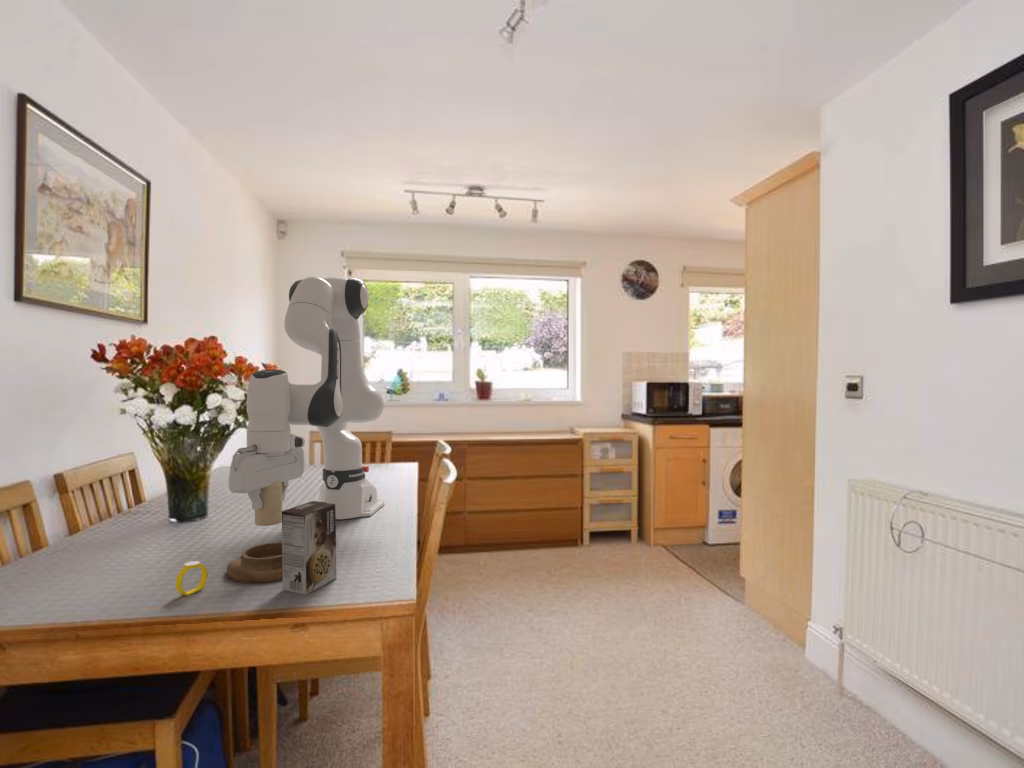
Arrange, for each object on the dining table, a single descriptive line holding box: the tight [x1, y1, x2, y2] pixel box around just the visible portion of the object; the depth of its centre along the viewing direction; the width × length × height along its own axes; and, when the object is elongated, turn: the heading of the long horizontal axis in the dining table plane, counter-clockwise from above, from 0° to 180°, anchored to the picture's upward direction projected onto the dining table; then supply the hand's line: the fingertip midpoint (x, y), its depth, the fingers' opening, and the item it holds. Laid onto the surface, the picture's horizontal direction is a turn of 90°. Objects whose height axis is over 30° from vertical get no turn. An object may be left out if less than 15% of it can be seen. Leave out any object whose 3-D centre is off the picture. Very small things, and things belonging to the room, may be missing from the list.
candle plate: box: [226, 541, 283, 584], centre depth 119 cm, size 17×17×4 cm
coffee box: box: [281, 500, 337, 596], centre depth 110 cm, size 9×6×16 cm
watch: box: [175, 560, 209, 597], centre depth 106 cm, size 6×3×6 cm, turn 159°
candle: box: [254, 481, 283, 527], centre depth 118 cm, size 6×6×10 cm
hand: (268, 505), depth 118 cm, fingers closed on candle, 5 cm apart
